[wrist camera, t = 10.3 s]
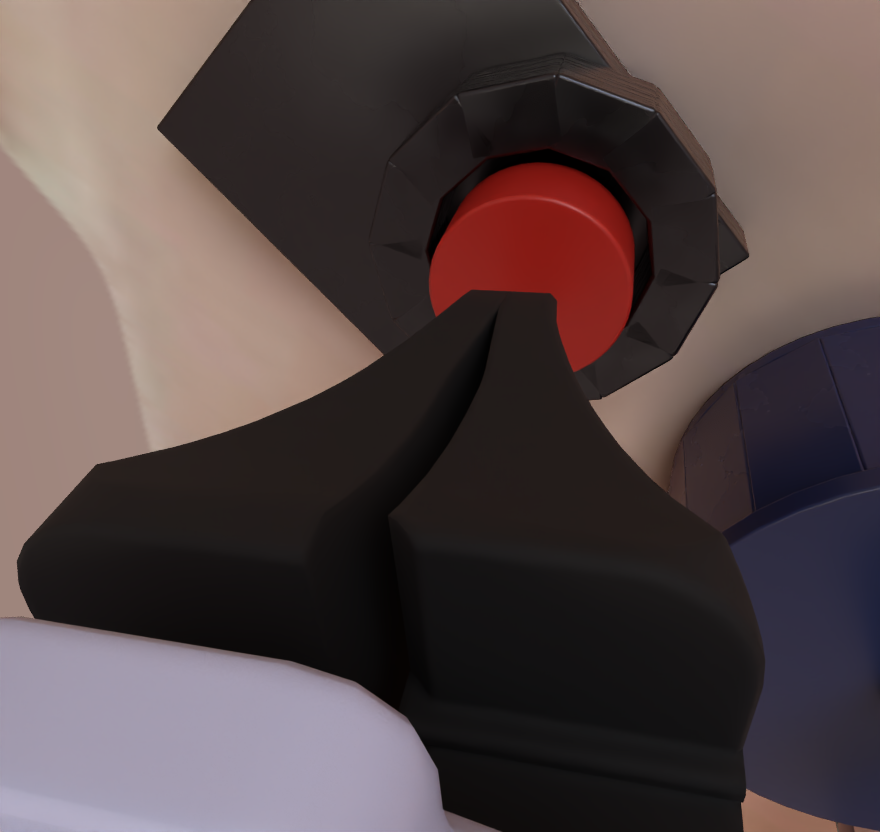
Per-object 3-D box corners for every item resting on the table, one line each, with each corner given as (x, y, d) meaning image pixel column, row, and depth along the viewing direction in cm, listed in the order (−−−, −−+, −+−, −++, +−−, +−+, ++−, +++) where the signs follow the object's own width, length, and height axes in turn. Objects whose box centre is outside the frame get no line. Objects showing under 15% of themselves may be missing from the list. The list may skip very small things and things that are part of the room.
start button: (411, 239, 15) (387, 278, 13) (553, 118, 13) (542, 149, 11) (527, 363, 16) (514, 411, 15) (674, 270, 14) (675, 314, 13)
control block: (184, 112, 17) (110, 153, 15) (444, -230, 12) (395, -249, 10) (478, 410, 20) (454, 483, 18) (771, 228, 16) (791, 293, 13)
